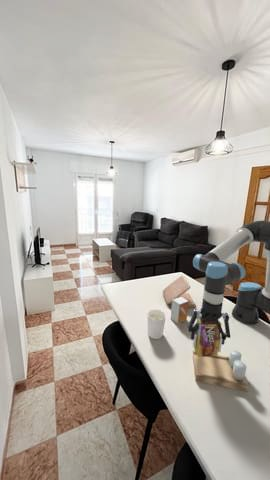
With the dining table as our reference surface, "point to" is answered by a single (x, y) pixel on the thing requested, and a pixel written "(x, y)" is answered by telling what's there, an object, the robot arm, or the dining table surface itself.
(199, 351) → the candy box
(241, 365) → the smooth rounded lump
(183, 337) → the dining table surface
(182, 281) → the case
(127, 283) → the dining table surface
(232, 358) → the white egg
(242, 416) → the dining table surface
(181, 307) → the small box
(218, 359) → the tan tray
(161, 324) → the white cream cup
